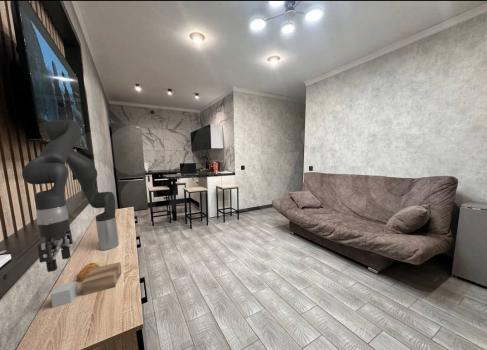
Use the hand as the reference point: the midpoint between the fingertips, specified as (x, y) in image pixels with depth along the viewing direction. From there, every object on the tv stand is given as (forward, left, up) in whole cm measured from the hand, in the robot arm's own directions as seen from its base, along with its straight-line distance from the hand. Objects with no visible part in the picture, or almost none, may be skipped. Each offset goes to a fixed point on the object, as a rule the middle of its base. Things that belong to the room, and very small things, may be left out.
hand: (59, 264), depth 63 cm
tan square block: (-5, +10, -14) cm, 18 cm away
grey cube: (0, 0, -14) cm, 14 cm away
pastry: (-16, +1, -14) cm, 22 cm away
